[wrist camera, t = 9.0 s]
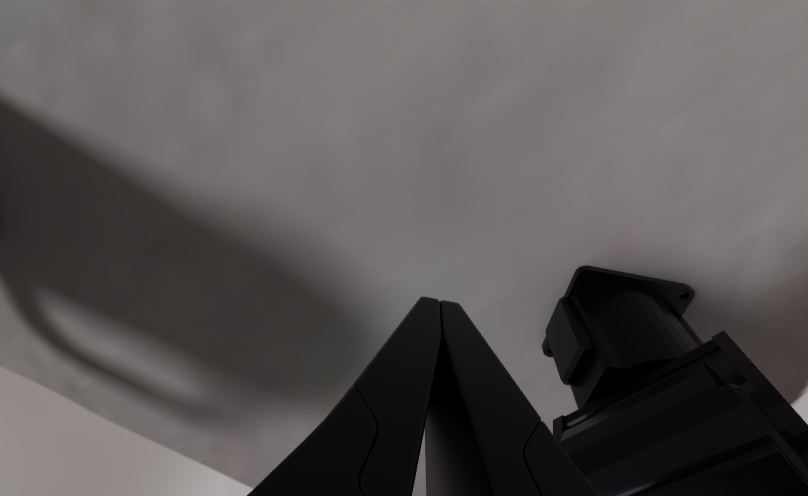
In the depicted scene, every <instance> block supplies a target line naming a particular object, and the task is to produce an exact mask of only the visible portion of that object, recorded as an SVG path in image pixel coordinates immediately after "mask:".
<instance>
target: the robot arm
mask: <svg viewBox="0 0 808 496" xmlns="http://www.w3.org/2000/svg"><path fill="white" fill-rule="evenodd" d="M587 273H588V276H586V277H582V275H583V274H587ZM684 292H685V293H684ZM681 293H684V294H683V295H680V294H681ZM694 295H695V294H694V291H693V290H692V289H691V288H690V287H689V286H688V285H686V284H680V283H675V282H670V281H665V280H659V279H654V278H649V277H643V276H638V275H633V274H628V273H622V272H617V271H612V270H607V269H601V268H596V267H591V266H582V267H579V268H578V269H577V270H576V271H575V273H574V276H573V278H572V280H571V282H570V284H569V287H568V289H567V291H566V293H565V295H564V297H562V298H561V299H559V301H558V303H557V306H556V308H555V310H554V312H553V315H552V317H551V319H550V321H549V324H548V326H547V328H546V331H545V332H546V337H545V340H544V342H543V344H542V350H543V353H544V354H545V355H546V356H548V357H553V358H554V360H555V363H556V366H557V369H558V372H559V375H560V379H561V380H562V382H563V383H564V384H565V385H570V386H571V389H572V392H573V395H574V398H575V401H576V404H577V407H578V410H576V411H574V412H572V413H570V414H568V415H566V416H563V415H562V416H560V417H558V418H556V419H554V420H553V434H552V433H551V431H550V430H549V429H548V427H547V426H546V424H545V423H544V422H543V421H541V418H540V416H539V415H538V413H537V412H536V411H535V409H534V408H533V406H532V405H531V404H530V402H529V401H528V399H527V398H526V397H525V395H524V394H523V392H522V391H521V390H520V388H519V387H518V385H517V384H516V383H515V381H514V380H513V378H512V377H511V376H510V374H509V373H508V371H507V370H506V369H505V367H504V366H503V364H502V363H501V362H500V360H499V359H498V357H497V356H496V355H495V353H494V352H493V350H492V349H491V347H490V346H489V345H488V343H487V342H486V340H485V339H484V338H483V336H482V335H481V333H480V332H479V331H478V329H477V328H476V326H475V325H474V324H473V322H472V321H471V319H470V318H469V317H468V315H467V314H466V312H465V311H464V310H463V308H462V307H461V305H460V304H458V303H455V302H450V301H445V300H442V301H440V302H439V300H438V299H434V298H429V297H421V298H420V299H419V300H418V301H417V302H416V304H415V305H414V306H413V308H412V309H411V310H410V312H409V313H408V314H407V315H406V317H405V318H404V319H403V321H402V322H401V323H400V324H399V326H398V327H397V328H396V330H395V331H394V332H393V333H392V335H391V336H390V337H389V339H388V340H387V341H386V343H385V344H384V345H383V346H382V348H381V349H380V350H379V352H378V353H377V354H376V355H375V357H374V358H373V359H372V361H371V362H370V363H369V365H368V366H367V367H366V368H365V370H364V371H363V372H362V374H361V375H360V376H359V377H358V379H357V380H356V381H355V383H354V384H353V386H352V387H351V388H350V389H349V390H348V391H347V393H346V394H345V395H344V396H343V398H342V399H341V400H340V402H339V403H338V404H337V405H336V406H335V407H334V409H333V410H332V411H331V412H330V413H329V415H328V416H327V417H326V418H325V419H324V420H323V421H322V422H321V423H320V424H319V426H318V427H317V428H316V429H315V430H314V431H313V432H312V433H311V434H310V435H309V436H308V437H307V438H306V439H305V440H304V441H303V442H302V443H301V444H300V445H299V446H298V447H297V448H296V449H295V450H294V451H293V452H292V453H291V454H289V455H288V456H287V457H286V458H285V459H284V460H283V461H282V462H281V463H280V464H279V465H278V466H277V467H276V468H275V469H274V470H273V471H272V472H271V473H270V474H269V475H268V476H267V477H266V478H265V479H264V480H263V481H262V482H261V483H260V484H259V485H257V486H256V487H255V488H254V489H253V491H251V492H250V493H249V494H248V495H247V496H412V492H413V487H414V481H415V476H416V471H417V465H418V460H419V455H420V450H421V444H422V439H423V434H424V429H425V458H426V496H808V425H807V424H806V422H805V421H804V420H803V419H802V418H801V417H800V416H799V415H798V414H797V412H796V411H795V410H794V409H793V408H792V407H791V406H790V404H789V403H788V402H787V401H786V400H785V399H784V398H783V397H782V395H781V394H780V393H779V392H778V391H777V390H776V389H775V388H774V386H773V385H772V384H771V383H770V382H769V381H768V380H767V379H766V377H765V376H764V375H763V374H762V373H761V372H760V371H759V370H758V368H757V367H756V366H755V365H754V364H753V363H752V362H751V361H750V359H749V358H748V357H747V356H746V355H745V354H744V353H743V352H742V350H741V349H740V348H739V347H738V346H737V345H736V344H735V343H734V341H733V340H732V339H731V338H730V337H729V336H728V335H727V334H726V332H725V331H722V332H720V333H718V334H716V335H714V336H712V338H713V339H712V340H710V341H708V342H706V343H705V344H703V342H702V341H701V340H700V339H699V337H698V336H697V335H696V334H695V332H694V331H693V330H692V329H691V327H690V326H689V325H688V323H687V322H686V321H685V320H684V318H683V317H682V314H683V313H684V311H685V310H686V308H687V307H688V305H689V304H690V302H691V301H692V299H693V297H694ZM549 348H551V349H549Z"/></svg>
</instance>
